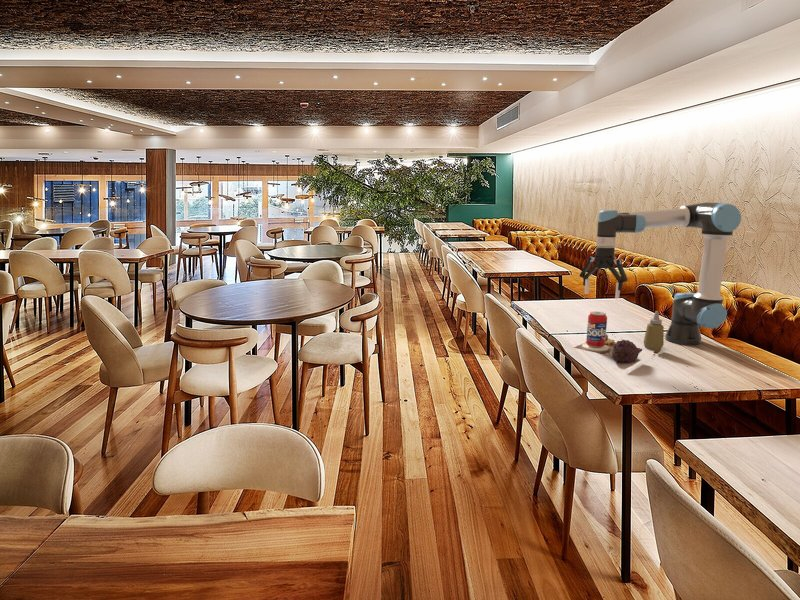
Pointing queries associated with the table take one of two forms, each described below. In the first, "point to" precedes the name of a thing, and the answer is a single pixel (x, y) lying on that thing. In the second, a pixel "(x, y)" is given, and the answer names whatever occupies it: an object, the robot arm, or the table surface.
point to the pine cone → (625, 351)
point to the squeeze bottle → (654, 334)
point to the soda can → (596, 329)
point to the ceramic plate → (604, 348)
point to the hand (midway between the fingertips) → (601, 295)
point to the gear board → (596, 351)
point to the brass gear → (608, 341)
